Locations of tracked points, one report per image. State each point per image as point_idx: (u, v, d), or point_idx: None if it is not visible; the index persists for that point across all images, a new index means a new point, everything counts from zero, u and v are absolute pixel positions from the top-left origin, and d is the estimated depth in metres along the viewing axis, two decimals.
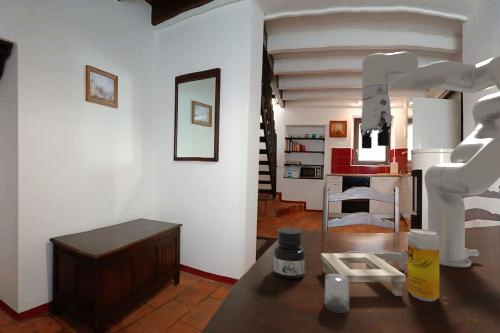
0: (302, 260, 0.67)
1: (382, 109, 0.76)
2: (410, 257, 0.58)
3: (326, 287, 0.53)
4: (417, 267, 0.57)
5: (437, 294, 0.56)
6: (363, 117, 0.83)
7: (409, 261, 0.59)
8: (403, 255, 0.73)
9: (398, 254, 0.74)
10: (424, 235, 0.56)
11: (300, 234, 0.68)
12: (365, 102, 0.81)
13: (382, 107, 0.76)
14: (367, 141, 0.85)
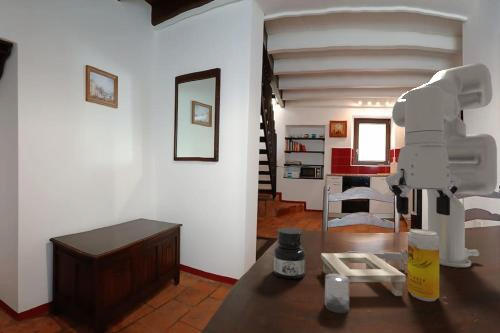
0: (302, 260, 0.67)
1: None
2: (410, 257, 0.58)
3: (326, 287, 0.53)
4: (417, 267, 0.57)
5: (437, 294, 0.56)
6: (419, 170, 0.56)
7: (409, 261, 0.59)
8: (403, 255, 0.73)
9: (398, 254, 0.74)
10: (424, 235, 0.56)
11: (300, 234, 0.68)
12: (428, 150, 0.56)
13: None
14: None
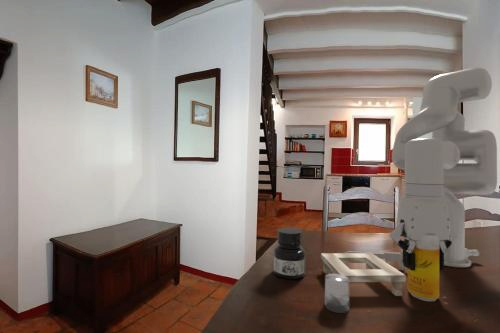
0: (302, 260, 0.67)
1: None
2: None
3: (326, 287, 0.53)
4: (417, 267, 0.57)
5: (437, 294, 0.56)
6: (419, 223, 0.56)
7: None
8: None
9: (398, 254, 0.74)
10: (424, 235, 0.56)
11: (300, 234, 0.68)
12: (428, 203, 0.56)
13: None
14: None
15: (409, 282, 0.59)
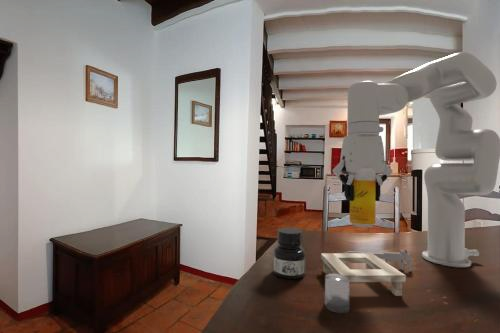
0: (302, 260, 0.67)
1: None
2: None
3: (326, 287, 0.53)
4: (355, 197, 0.63)
5: (372, 220, 0.62)
6: (356, 157, 0.62)
7: None
8: (402, 255, 0.73)
9: (397, 254, 0.74)
10: (361, 168, 0.62)
11: (300, 234, 0.68)
12: (364, 139, 0.62)
13: None
14: None
15: (350, 213, 0.65)
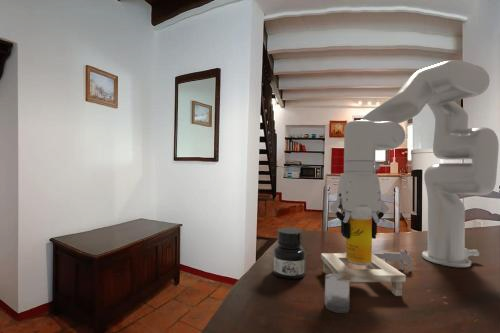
0: (302, 260, 0.67)
1: None
2: None
3: (326, 287, 0.53)
4: (351, 235, 0.63)
5: (368, 259, 0.62)
6: (353, 196, 0.63)
7: None
8: (402, 255, 0.73)
9: (397, 254, 0.74)
10: (357, 206, 0.63)
11: (300, 234, 0.68)
12: (361, 178, 0.63)
13: None
14: None
15: (346, 250, 0.65)
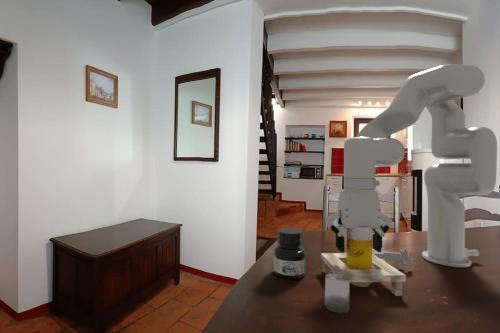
0: (302, 260, 0.67)
1: None
2: (347, 247, 0.65)
3: (326, 287, 0.53)
4: (352, 256, 0.63)
5: None
6: (352, 213, 0.63)
7: (347, 251, 0.65)
8: (402, 255, 0.73)
9: (397, 254, 0.74)
10: (358, 227, 0.63)
11: (300, 234, 0.68)
12: (360, 195, 0.63)
13: None
14: None
15: None
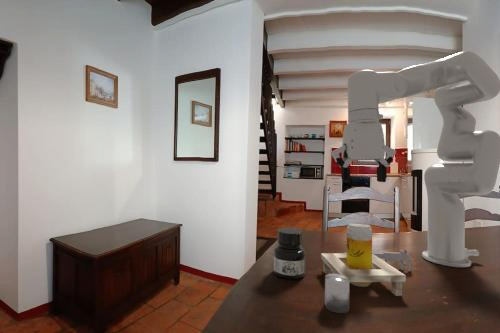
0: (302, 260, 0.67)
1: None
2: (347, 247, 0.65)
3: (326, 287, 0.53)
4: (352, 256, 0.63)
5: None
6: (357, 144, 0.65)
7: (347, 251, 0.65)
8: (402, 255, 0.73)
9: (397, 254, 0.74)
10: (358, 227, 0.63)
11: (300, 234, 0.68)
12: (365, 126, 0.65)
13: None
14: None
15: None
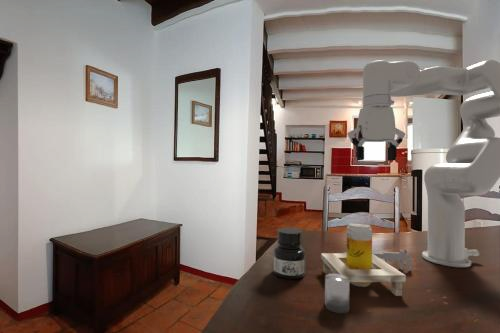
0: (302, 260, 0.67)
1: None
2: (347, 247, 0.65)
3: (326, 287, 0.53)
4: (352, 256, 0.63)
5: None
6: (371, 125, 0.73)
7: (347, 251, 0.65)
8: (402, 255, 0.73)
9: (397, 254, 0.74)
10: (358, 227, 0.63)
11: (300, 234, 0.68)
12: (378, 110, 0.73)
13: None
14: None
15: None
